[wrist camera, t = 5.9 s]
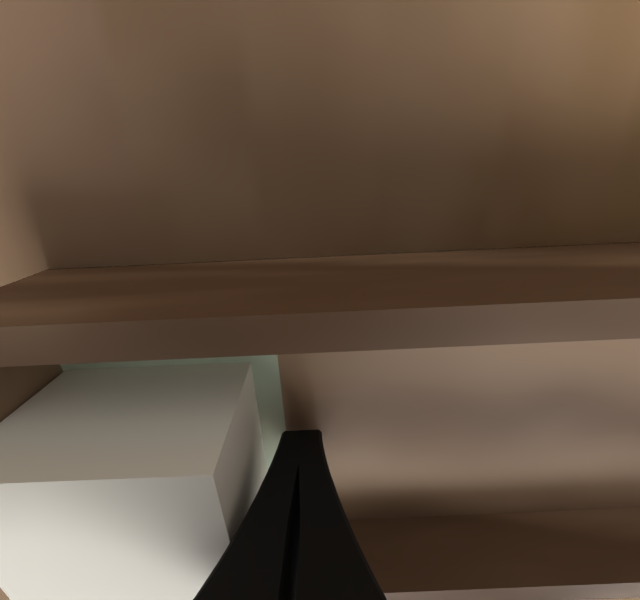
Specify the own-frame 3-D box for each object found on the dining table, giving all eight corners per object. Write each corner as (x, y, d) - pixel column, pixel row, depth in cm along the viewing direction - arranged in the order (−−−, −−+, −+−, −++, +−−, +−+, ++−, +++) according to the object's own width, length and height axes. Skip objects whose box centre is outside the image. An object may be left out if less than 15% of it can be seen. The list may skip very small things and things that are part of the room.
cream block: (269, 488, 12) (250, 625, 9) (120, 494, 12) (36, 632, 9) (251, 362, 10) (212, 475, 6) (66, 370, 10) (-81, 486, 6)
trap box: (783, 472, 15) (958, 584, 11) (140, 499, 15) (76, 620, 11) (973, 226, 11) (1397, 263, 6) (47, 269, 11) (-122, 332, 7)
